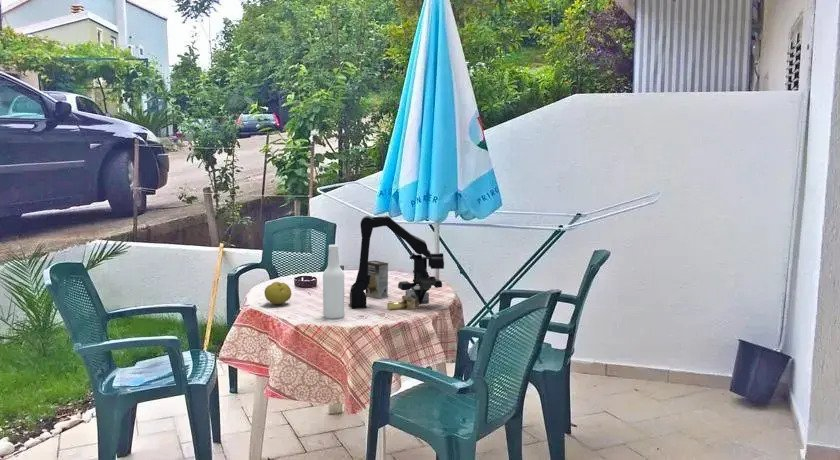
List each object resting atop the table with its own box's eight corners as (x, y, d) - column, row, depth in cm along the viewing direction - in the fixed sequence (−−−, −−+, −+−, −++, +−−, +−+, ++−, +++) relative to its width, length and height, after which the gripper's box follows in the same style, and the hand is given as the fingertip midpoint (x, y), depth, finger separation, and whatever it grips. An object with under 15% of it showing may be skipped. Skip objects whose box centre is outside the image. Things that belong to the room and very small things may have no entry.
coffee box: (364, 295, 342) (364, 261, 340) (374, 293, 347) (374, 260, 344) (378, 299, 336) (378, 264, 333) (388, 296, 340) (388, 262, 338)
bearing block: (408, 309, 316) (408, 299, 316) (402, 305, 324) (402, 295, 323) (415, 309, 317) (415, 299, 317) (408, 305, 325) (408, 295, 324)
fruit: (262, 303, 326) (261, 281, 325) (288, 300, 331) (287, 279, 330) (267, 308, 316) (266, 286, 315) (294, 306, 321) (293, 283, 319)
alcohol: (319, 317, 302) (318, 246, 298) (329, 313, 310) (328, 242, 306) (338, 320, 299) (338, 247, 294) (348, 315, 307) (347, 244, 303)
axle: (388, 311, 316) (389, 305, 314) (386, 307, 318) (387, 301, 317) (408, 309, 319) (409, 303, 318) (406, 305, 321) (407, 299, 320)
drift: (408, 308, 319) (408, 302, 319) (406, 306, 321) (406, 301, 321) (419, 307, 321) (419, 301, 320) (417, 306, 323) (417, 300, 323)
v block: (412, 304, 326) (412, 294, 325) (405, 300, 334) (405, 289, 333) (428, 303, 329) (429, 292, 328) (421, 298, 337) (421, 288, 336)
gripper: (406, 273, 309) (406, 309, 311) (447, 270, 316) (446, 306, 318) (397, 268, 319) (397, 303, 322) (437, 266, 326) (436, 300, 328)
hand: (420, 303), depth 322 cm, fingers closed
